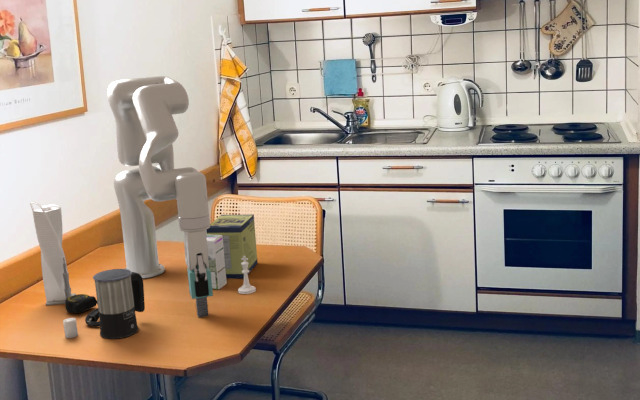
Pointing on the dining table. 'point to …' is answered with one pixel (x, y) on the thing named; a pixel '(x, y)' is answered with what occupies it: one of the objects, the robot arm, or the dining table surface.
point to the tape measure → (80, 303)
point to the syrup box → (216, 260)
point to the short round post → (70, 328)
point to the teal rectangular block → (192, 280)
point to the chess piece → (246, 279)
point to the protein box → (236, 242)
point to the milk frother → (117, 303)
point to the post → (202, 307)
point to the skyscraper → (52, 253)
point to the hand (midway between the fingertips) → (200, 291)
